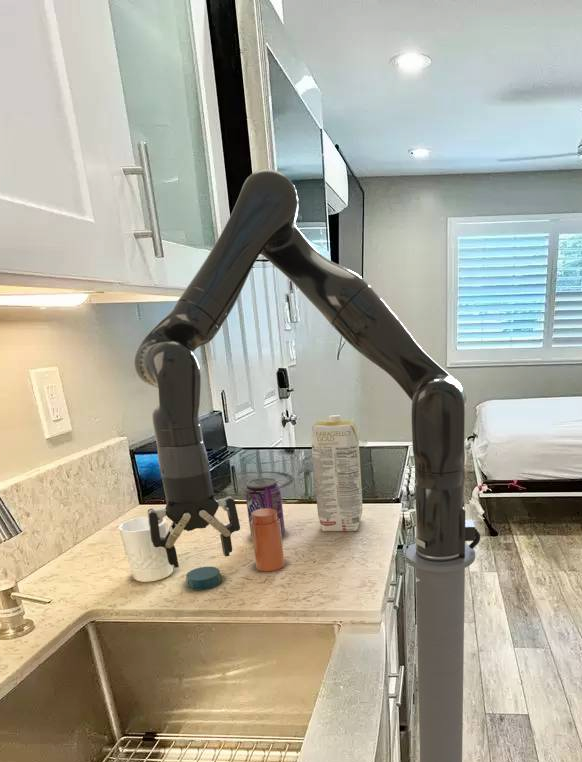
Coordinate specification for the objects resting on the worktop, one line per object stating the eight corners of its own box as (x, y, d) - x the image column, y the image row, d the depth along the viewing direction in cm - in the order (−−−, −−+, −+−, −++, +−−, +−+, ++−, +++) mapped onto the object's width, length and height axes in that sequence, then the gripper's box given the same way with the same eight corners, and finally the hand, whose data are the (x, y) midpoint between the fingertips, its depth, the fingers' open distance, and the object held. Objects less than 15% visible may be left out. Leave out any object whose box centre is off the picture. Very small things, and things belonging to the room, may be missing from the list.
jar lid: (185, 580, 102) (183, 571, 101) (217, 573, 104) (215, 564, 104) (190, 592, 97) (189, 582, 97) (224, 585, 100) (222, 575, 99)
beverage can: (247, 534, 122) (240, 480, 118) (280, 528, 125) (273, 475, 121) (256, 545, 116) (248, 488, 112) (289, 538, 119) (283, 483, 115)
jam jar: (287, 559, 109) (281, 507, 105) (281, 571, 104) (274, 516, 100) (260, 560, 109) (253, 507, 105) (253, 571, 105) (245, 517, 101)
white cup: (183, 573, 105) (174, 522, 101) (140, 587, 100) (128, 534, 96) (165, 561, 110) (155, 512, 106) (123, 574, 105) (111, 524, 101)
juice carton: (364, 519, 128) (358, 412, 119) (361, 532, 121) (354, 419, 112) (323, 520, 129) (313, 413, 120) (317, 533, 122) (307, 420, 113)
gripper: (224, 458, 99) (237, 545, 105) (135, 471, 93) (155, 562, 99) (234, 468, 93) (247, 558, 99) (140, 482, 87) (161, 578, 93)
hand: (201, 560), depth 99 cm, fingers open, 8 cm apart
